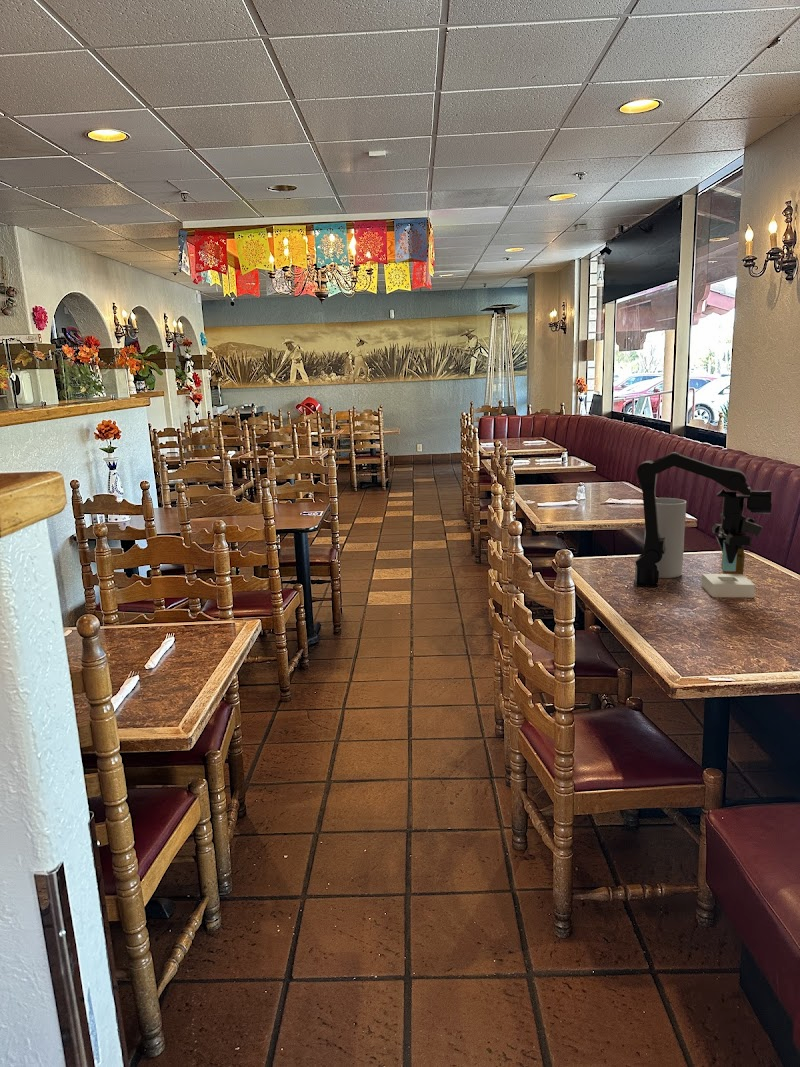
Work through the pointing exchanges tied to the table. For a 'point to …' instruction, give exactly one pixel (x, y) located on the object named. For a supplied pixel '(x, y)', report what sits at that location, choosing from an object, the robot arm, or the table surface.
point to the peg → (725, 564)
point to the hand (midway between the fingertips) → (728, 561)
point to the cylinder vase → (671, 535)
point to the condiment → (738, 563)
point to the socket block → (728, 585)
